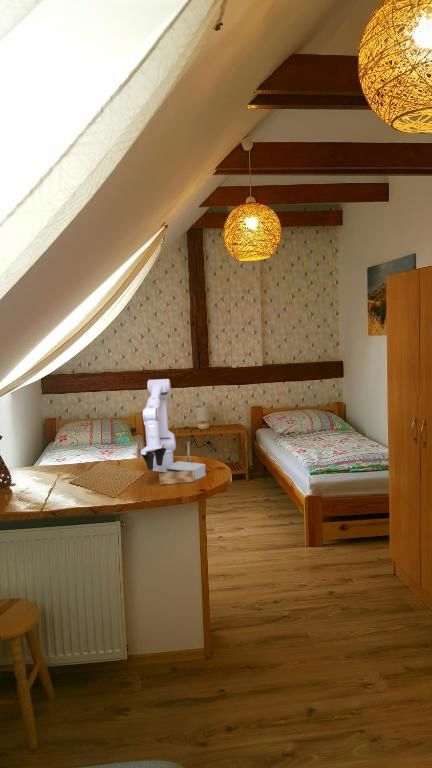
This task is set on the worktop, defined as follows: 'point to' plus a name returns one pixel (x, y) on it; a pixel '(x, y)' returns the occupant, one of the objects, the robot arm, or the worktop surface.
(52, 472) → the worktop surface
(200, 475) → the cabinet
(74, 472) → the worktop surface
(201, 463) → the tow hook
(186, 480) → the door
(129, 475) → the worktop surface
